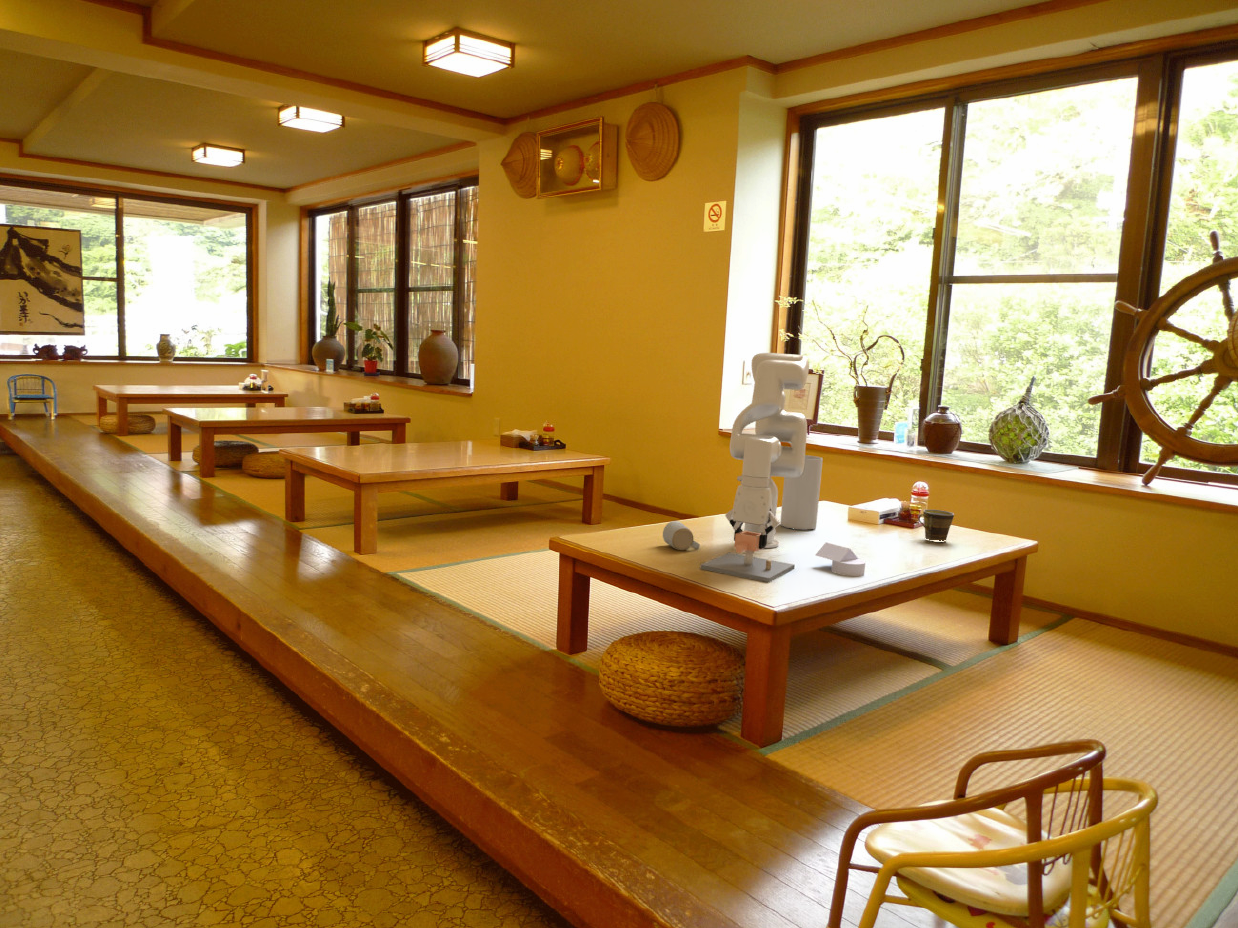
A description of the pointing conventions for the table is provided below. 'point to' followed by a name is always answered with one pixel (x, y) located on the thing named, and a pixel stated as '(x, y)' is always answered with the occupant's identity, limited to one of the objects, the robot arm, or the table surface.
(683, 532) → the ceramic mug
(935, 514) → the ceramic cup
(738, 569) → the base plate
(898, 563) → the table surface
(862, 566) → the wedge on round base
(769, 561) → the dowel pin
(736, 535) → the square frame with post
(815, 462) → the cylinder vase
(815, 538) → the table surface
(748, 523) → the robot arm
